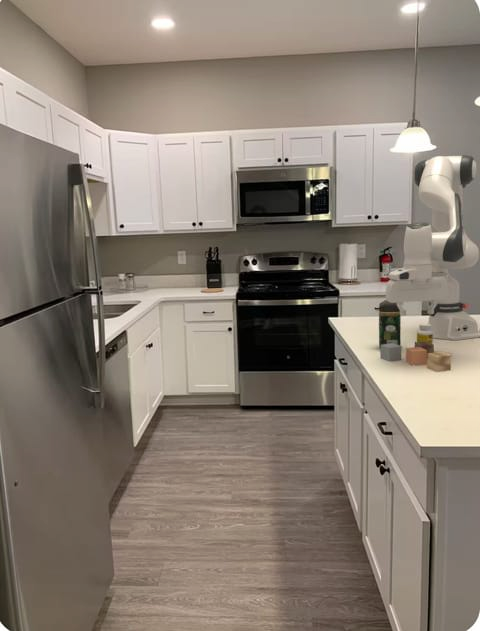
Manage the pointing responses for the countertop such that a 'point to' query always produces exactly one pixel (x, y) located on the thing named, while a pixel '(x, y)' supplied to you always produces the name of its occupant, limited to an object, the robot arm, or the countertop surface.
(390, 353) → the grey cube
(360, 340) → the countertop surface
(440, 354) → the oak cube
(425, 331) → the supplement bottle
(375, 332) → the countertop surface
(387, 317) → the coffee jar
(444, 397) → the countertop surface
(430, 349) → the walnut cube
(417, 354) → the terracotta cube
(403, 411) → the countertop surface
